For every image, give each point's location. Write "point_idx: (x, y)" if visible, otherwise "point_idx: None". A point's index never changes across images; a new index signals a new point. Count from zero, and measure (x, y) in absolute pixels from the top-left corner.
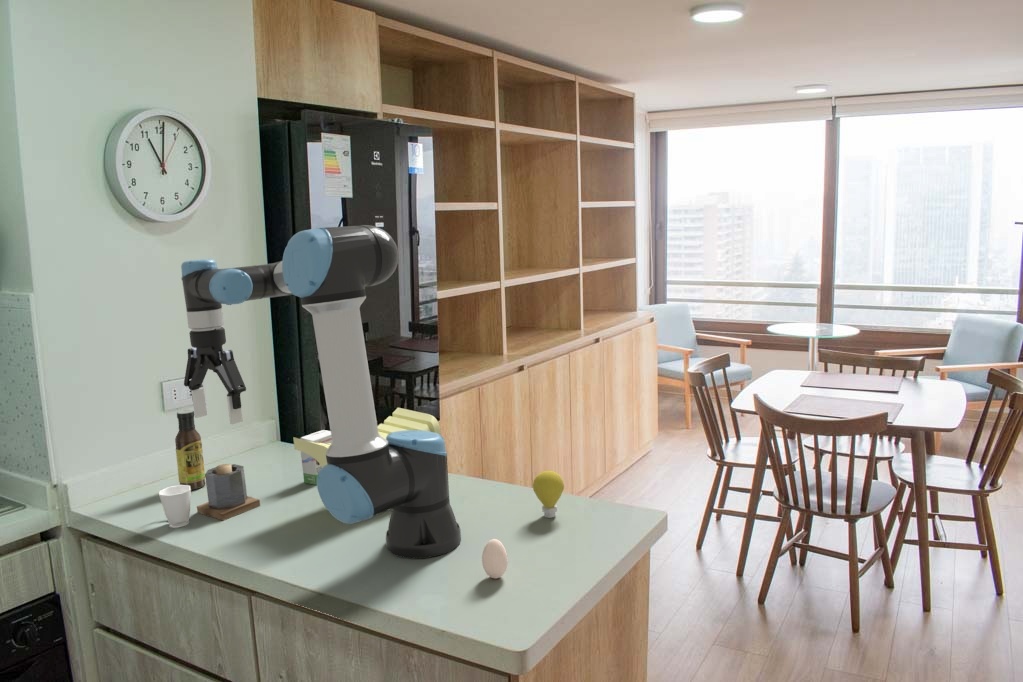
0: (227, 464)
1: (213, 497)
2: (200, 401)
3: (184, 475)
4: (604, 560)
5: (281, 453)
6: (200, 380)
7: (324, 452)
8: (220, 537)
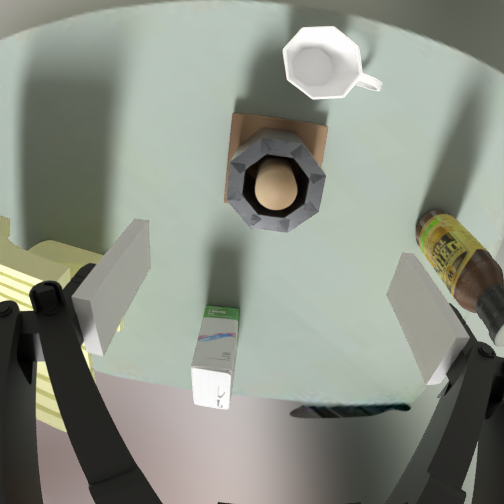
0: (277, 204)
1: (274, 131)
2: (416, 318)
3: (446, 222)
4: None
5: (376, 379)
6: (438, 412)
7: None
8: (169, 55)
